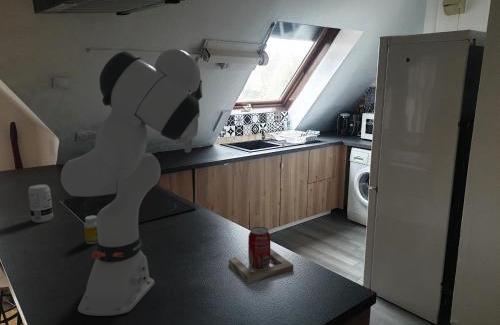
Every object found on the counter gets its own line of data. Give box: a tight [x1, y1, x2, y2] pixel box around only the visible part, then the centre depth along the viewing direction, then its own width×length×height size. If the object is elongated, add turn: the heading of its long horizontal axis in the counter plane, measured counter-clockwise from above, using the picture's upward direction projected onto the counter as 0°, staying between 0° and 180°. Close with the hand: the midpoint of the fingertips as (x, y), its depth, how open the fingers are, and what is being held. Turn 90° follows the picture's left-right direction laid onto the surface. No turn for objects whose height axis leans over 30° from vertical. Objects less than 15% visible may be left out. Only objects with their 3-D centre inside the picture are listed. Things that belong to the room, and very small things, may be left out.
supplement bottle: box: [83, 215, 98, 245], centre depth 138 cm, size 5×5×10 cm
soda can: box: [247, 226, 271, 270], centre depth 120 cm, size 7×7×12 cm
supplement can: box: [27, 183, 54, 224], centre depth 160 cm, size 8×8×15 cm
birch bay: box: [228, 248, 294, 285], centre depth 119 cm, size 14×16×2 cm
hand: (188, 151), depth 131 cm, fingers closed
